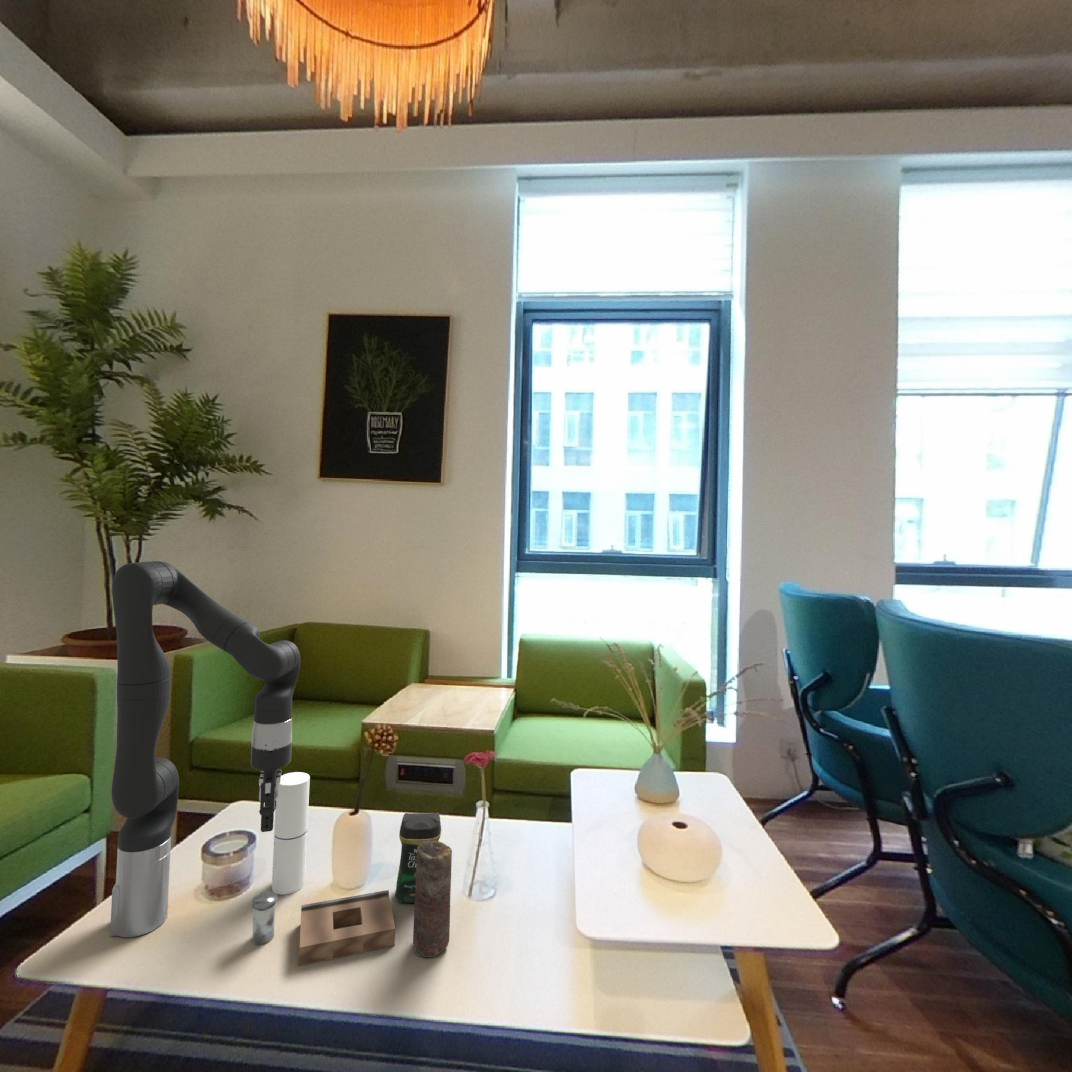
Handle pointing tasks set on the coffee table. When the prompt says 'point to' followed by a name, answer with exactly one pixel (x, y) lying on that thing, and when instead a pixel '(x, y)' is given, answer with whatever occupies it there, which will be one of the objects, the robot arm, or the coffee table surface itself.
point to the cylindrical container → (290, 833)
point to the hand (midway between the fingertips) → (268, 820)
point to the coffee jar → (414, 849)
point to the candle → (432, 899)
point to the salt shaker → (263, 917)
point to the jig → (330, 914)
